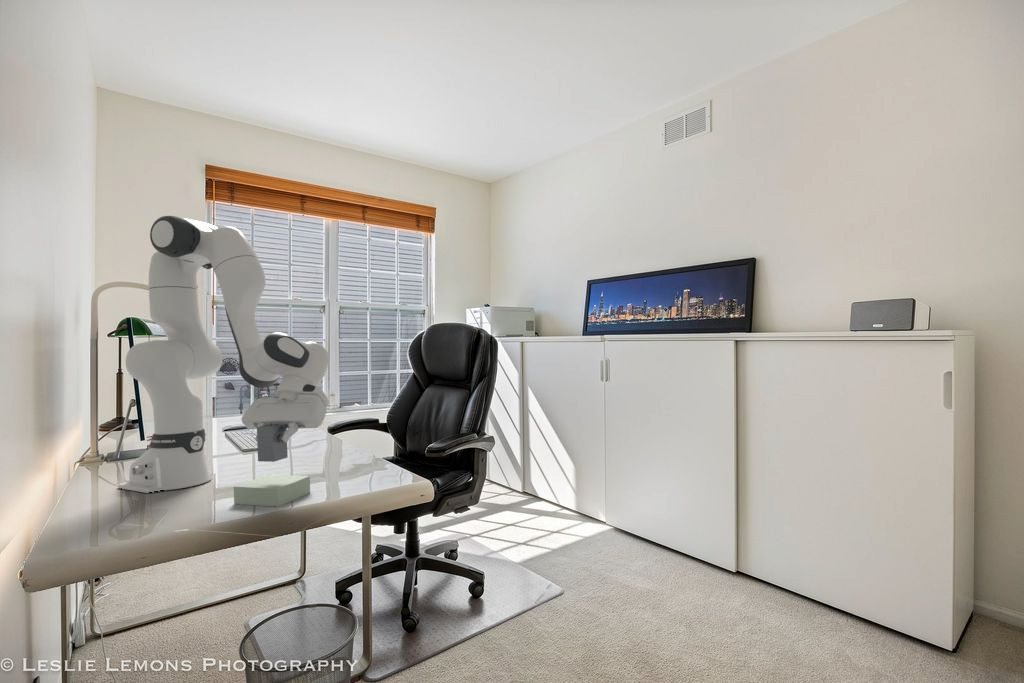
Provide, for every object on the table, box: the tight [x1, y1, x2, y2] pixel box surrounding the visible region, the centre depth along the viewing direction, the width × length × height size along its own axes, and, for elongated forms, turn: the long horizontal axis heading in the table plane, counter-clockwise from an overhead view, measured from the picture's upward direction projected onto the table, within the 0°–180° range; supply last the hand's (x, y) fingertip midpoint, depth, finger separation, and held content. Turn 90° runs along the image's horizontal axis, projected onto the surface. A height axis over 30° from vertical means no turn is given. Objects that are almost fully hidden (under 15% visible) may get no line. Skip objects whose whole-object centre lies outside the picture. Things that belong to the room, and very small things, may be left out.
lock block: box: [256, 424, 289, 463], centre depth 119 cm, size 4×4×8 cm
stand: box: [233, 474, 311, 508], centre depth 119 cm, size 12×11×4 cm
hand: (270, 441), depth 119 cm, fingers closed on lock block, 5 cm apart
